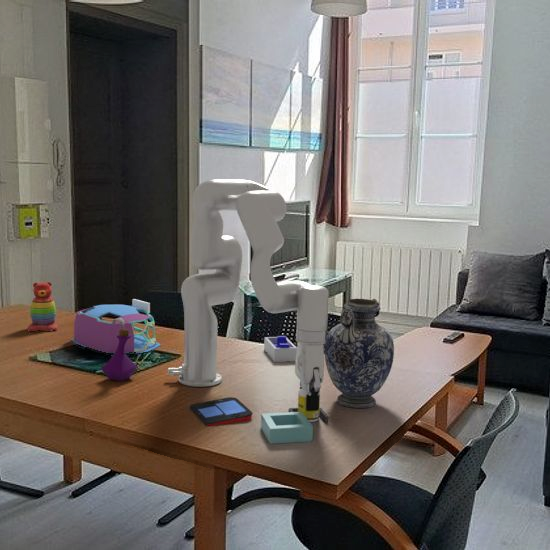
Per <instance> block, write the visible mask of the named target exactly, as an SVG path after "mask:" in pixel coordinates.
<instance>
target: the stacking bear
mask: <svg viewBox="0 0 550 550" xmlns="http://www.w3.org/2000/svg"><path fill="white" fill-rule="evenodd" d="M32 286H33V289H32V290H33V291H32V292H33V295H34V298H33V299H32V301H31V303H30V308H29V314H30V318H31V324H29V325H28V326H27V328H26V329H27V330H29V331H28V332H30V331H36V332H38V331H37V330H48V331H47V332H54V331H53V330H56V331H58V328H59V327H58V325H57V323H56V322H55V321H56V317H57V308H56V304H55V301H54V299H53V297H51V296H52V292H53V289H52V283H51V282H34V283H33V285H32ZM27 330H26V331H27ZM51 330H52V331H51Z"/></svg>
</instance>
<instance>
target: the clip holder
mask: <svg viewBox="0 0 550 550" xmlns="http://www.w3.org/2000/svg"><path fill="white" fill-rule="evenodd" d="M263 341H264V342H263V343H264V345H263V346H264V347H263V350H264V352H265V353H266V352H267V353H266V354H267V355H268V356H269V358H270V357H271V358H270V359H271V360H272V361H273V362H274V363H281V362H282V363H284V362H285V363H287V362H286V361H290V362H296V352H297V345H295V344H294V343H292V341H291V340H290V339H289V338H288V337H287V336H286V344H289V348H276V347H275V346H274V345H273V344H277V336H267V337H266V336H265V337H264V340H263Z"/></svg>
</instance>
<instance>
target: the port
mask: <svg viewBox="0 0 550 550" xmlns="http://www.w3.org/2000/svg"><path fill="white" fill-rule="evenodd" d="M260 415H261V416H260V429H261V430H262V432H263V434H264V436H265V438H266V439H267V441H268V443H269V445H272V444H286V443H302V442H303V443H304V442H313V436H314V435H313V434H314V431H313V430H314V426H313V424H312V422H309V421H308V419H307V418H306V417H305V416H304V414H303V413H302V412H288V411H287V412H286V411H285V412H270V413H269V412H267V413H264V412H263V413H261V414H260Z"/></svg>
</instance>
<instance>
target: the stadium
mask: <svg viewBox="0 0 550 550" xmlns="http://www.w3.org/2000/svg"><path fill="white" fill-rule="evenodd" d="M131 301H132V304H131V305H126V304H99V305H93V306H91V307H89V308H86V309H82V310H79V311H76V314H75V318H74V324H73V338H71V340H72V341H74V342H75V343H76V344H79V345H81V346H84V347H89V348H92V349H95V350H98V351H102V352H106V353H115V352H116V349H117V347H118V344H119V339H118V338H117V335H119V330H121V329H123V325H121V324H120V323H119V322H118V321H116V322H115V324H114V325H113V320H112V321H107V320H102V319H103V316H106V315H108V314H111V315H113V316H117V317H118V318H122V319H123V320H124V329H128V330H129V335H130V336H131V338H129V339H128V340H127V341H126V344H125V348H124V350H125V353H129V352H133V353H134V352H136V353H143V352H148V351H151V350H152V351H155V350H156V349H158V348H160V347H162V343H159V342H157V340H156V332H155V331H156V330H155V329H156V327H155V325H156V324H155V320H154V317H153V315H151V314H150V313H151V302H147V301H143V300H140V299H136V298H133V299H131ZM140 312H142V313H140ZM143 313H145V314H143ZM148 320H149V321H150V322H149V321H148ZM141 322H143V323H144V327H143V328H139V327H137V326H135V324H136V323H141ZM149 329H152V330H153V337H152V338H151V337H150V335H149V334H150V333H149ZM72 341H71V342H72ZM74 342H73V343H74ZM75 343H74V344H75ZM76 344H75V345H76ZM152 351H151V352H152ZM148 353H149V352H148Z"/></svg>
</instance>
